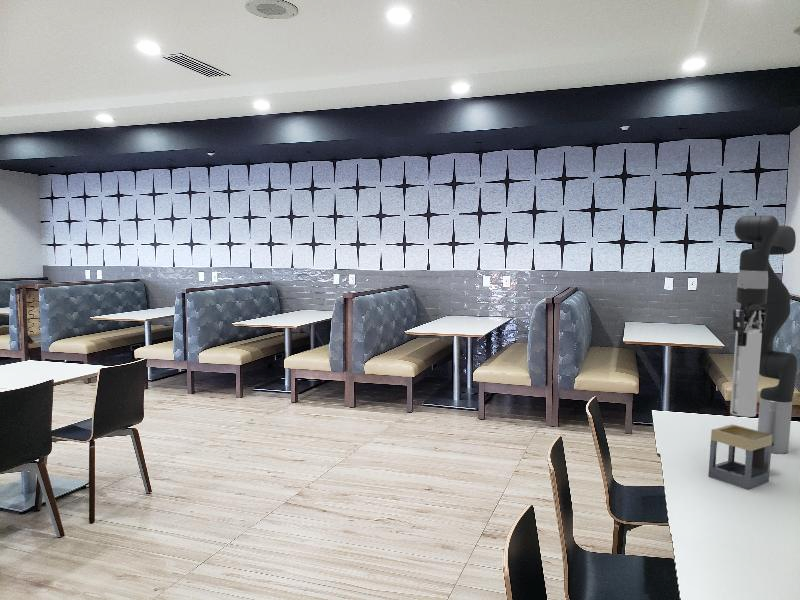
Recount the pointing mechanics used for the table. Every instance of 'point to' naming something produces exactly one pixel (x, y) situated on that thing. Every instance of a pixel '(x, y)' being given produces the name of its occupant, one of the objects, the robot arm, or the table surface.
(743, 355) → the silver metal cylinder
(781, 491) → the table surface
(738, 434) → the collar stand
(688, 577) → the table surface
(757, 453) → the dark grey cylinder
